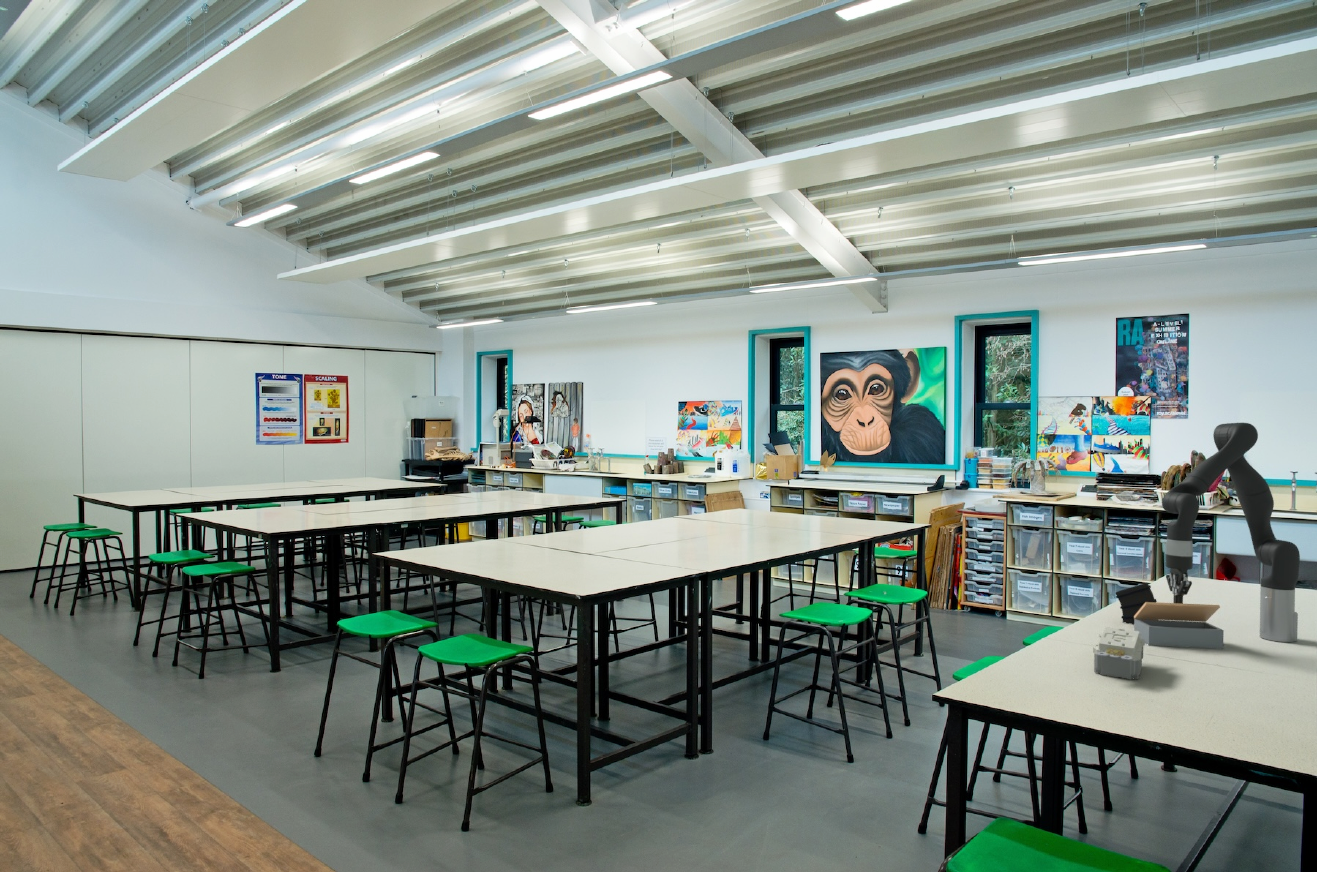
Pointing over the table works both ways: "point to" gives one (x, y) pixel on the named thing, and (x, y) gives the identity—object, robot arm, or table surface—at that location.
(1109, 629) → the electrical outlet
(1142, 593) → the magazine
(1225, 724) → the table surface
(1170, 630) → the grey rectangular box
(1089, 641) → the table surface
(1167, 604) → the tan flat rectangular panel
